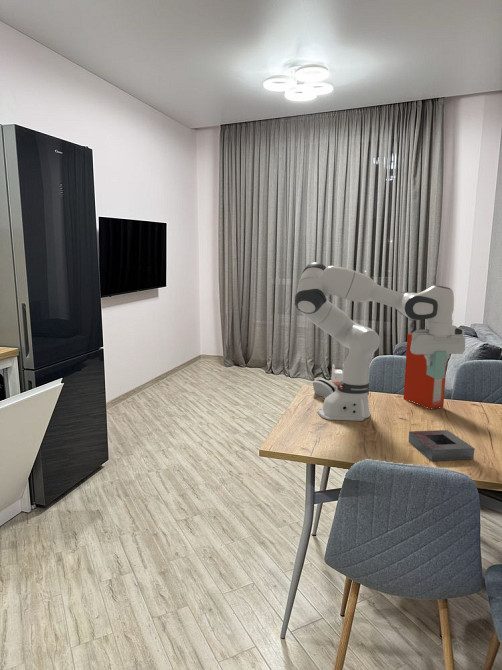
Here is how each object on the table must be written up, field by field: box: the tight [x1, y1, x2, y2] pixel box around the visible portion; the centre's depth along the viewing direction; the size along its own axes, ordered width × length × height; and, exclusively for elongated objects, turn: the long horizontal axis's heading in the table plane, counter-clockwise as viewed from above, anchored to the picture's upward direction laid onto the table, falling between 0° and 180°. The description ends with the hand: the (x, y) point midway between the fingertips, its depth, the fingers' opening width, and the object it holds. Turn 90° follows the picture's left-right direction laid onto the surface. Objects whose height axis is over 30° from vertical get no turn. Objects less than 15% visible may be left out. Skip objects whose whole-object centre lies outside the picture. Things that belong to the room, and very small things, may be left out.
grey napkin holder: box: [312, 378, 337, 399], centre depth 226 cm, size 17×5×10 cm, turn 26°
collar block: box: [408, 429, 475, 462], centre depth 165 cm, size 15×17×4 cm
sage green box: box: [426, 351, 447, 379], centre depth 177 cm, size 4×6×10 cm, turn 7°
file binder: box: [403, 333, 448, 410], centre depth 218 cm, size 8×17×32 cm, turn 24°
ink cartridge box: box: [330, 363, 343, 388], centre depth 232 cm, size 9×5×15 cm, turn 178°
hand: (436, 365), depth 177 cm, fingers closed on sage green box, 4 cm apart
